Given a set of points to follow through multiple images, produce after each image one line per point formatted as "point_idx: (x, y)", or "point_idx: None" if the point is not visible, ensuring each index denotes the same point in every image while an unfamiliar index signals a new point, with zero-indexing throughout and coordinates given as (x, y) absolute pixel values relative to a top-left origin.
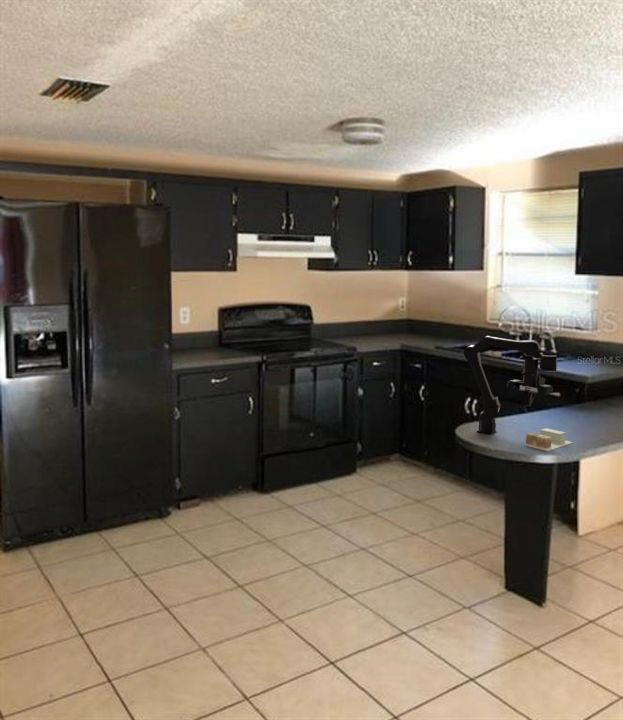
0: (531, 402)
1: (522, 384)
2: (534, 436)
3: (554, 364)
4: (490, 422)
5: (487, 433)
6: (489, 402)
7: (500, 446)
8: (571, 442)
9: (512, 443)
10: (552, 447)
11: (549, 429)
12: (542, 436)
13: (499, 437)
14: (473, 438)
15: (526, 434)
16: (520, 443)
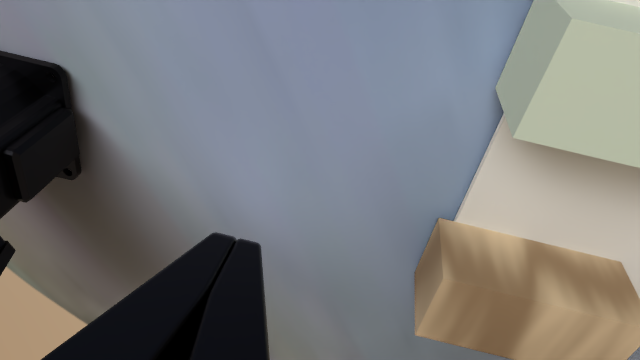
0: (264, 337)
1: None
2: (492, 350)
3: None
4: (5, 213)
5: (69, 178)
6: None
7: (295, 349)
8: None
9: (324, 275)
10: (635, 275)
11: (630, 61)
12: (564, 342)
13: (177, 189)
14: (89, 284)
15: (417, 333)
16: (370, 253)
